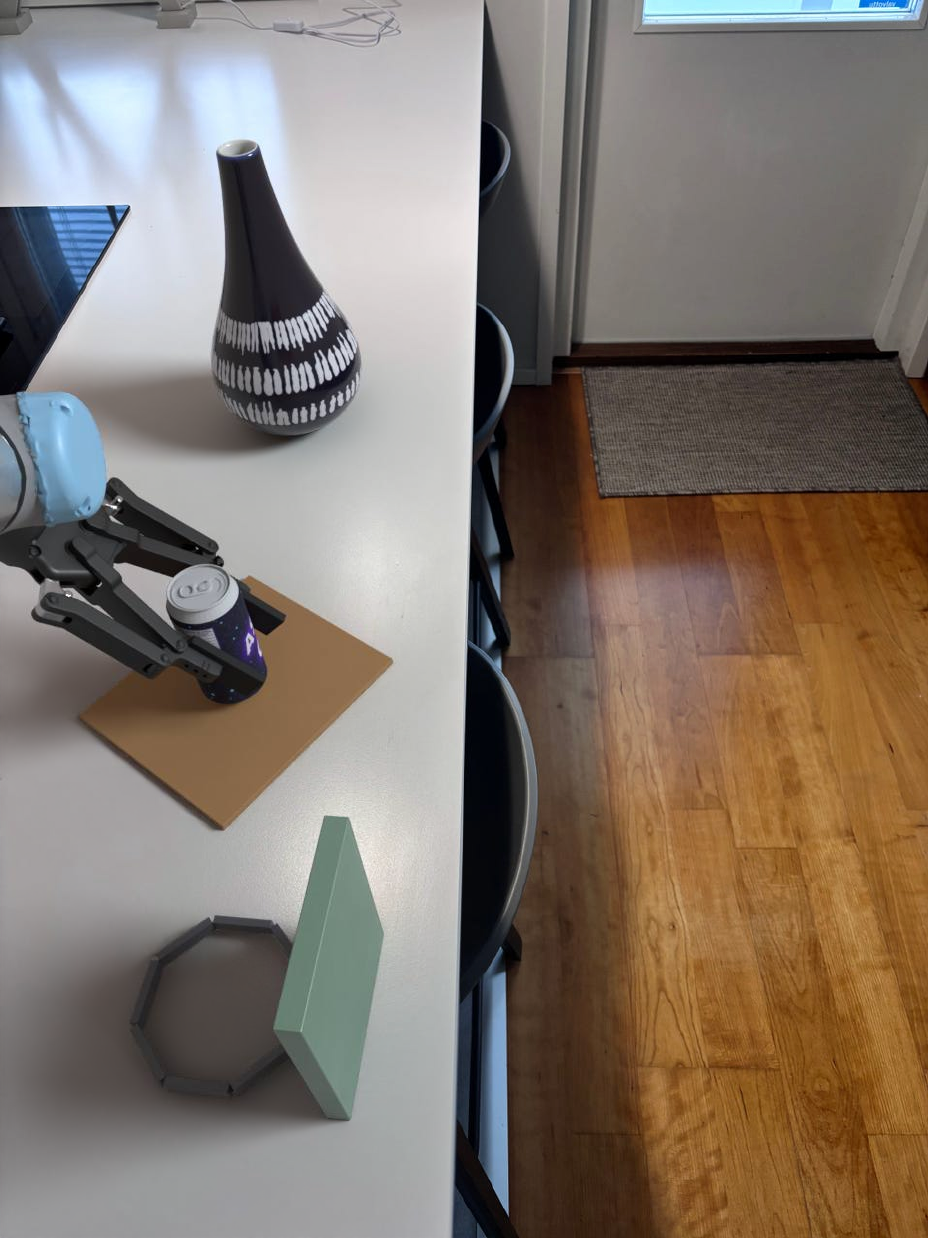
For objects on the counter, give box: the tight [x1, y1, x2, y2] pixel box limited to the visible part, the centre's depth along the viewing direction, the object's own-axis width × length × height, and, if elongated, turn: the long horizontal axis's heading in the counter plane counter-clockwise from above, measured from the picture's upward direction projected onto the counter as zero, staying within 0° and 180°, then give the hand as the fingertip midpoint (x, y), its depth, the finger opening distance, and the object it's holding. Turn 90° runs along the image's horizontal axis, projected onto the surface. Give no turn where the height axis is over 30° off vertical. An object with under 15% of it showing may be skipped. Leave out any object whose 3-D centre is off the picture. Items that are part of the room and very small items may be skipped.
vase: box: [210, 139, 363, 437], centre depth 96 cm, size 16×16×30 cm
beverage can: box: [165, 564, 267, 704], centre depth 76 cm, size 6×6×12 cm
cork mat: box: [78, 574, 394, 831], centre depth 81 cm, size 20×18×1 cm
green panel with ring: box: [128, 815, 385, 1121], centre depth 57 cm, size 15×12×16 cm
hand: (266, 654), depth 77 cm, fingers closed on beverage can, 6 cm apart
